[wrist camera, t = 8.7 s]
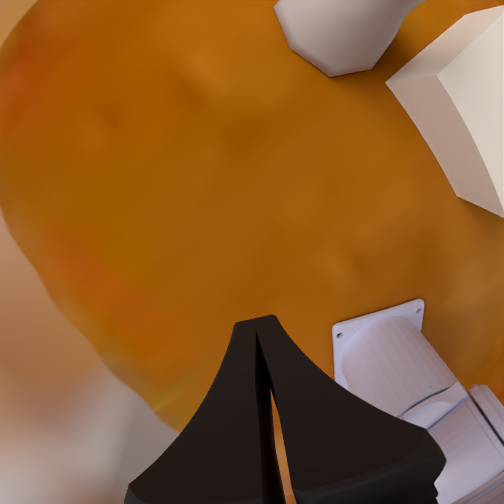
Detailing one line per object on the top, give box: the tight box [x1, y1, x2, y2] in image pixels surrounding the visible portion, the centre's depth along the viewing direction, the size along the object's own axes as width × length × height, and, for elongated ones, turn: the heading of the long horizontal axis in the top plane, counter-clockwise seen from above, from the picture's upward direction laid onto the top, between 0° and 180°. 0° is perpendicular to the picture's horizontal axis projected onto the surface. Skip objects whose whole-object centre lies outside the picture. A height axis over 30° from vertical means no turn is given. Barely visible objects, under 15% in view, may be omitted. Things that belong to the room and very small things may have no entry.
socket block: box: [385, 5, 504, 218], centre depth 14 cm, size 10×11×6 cm
